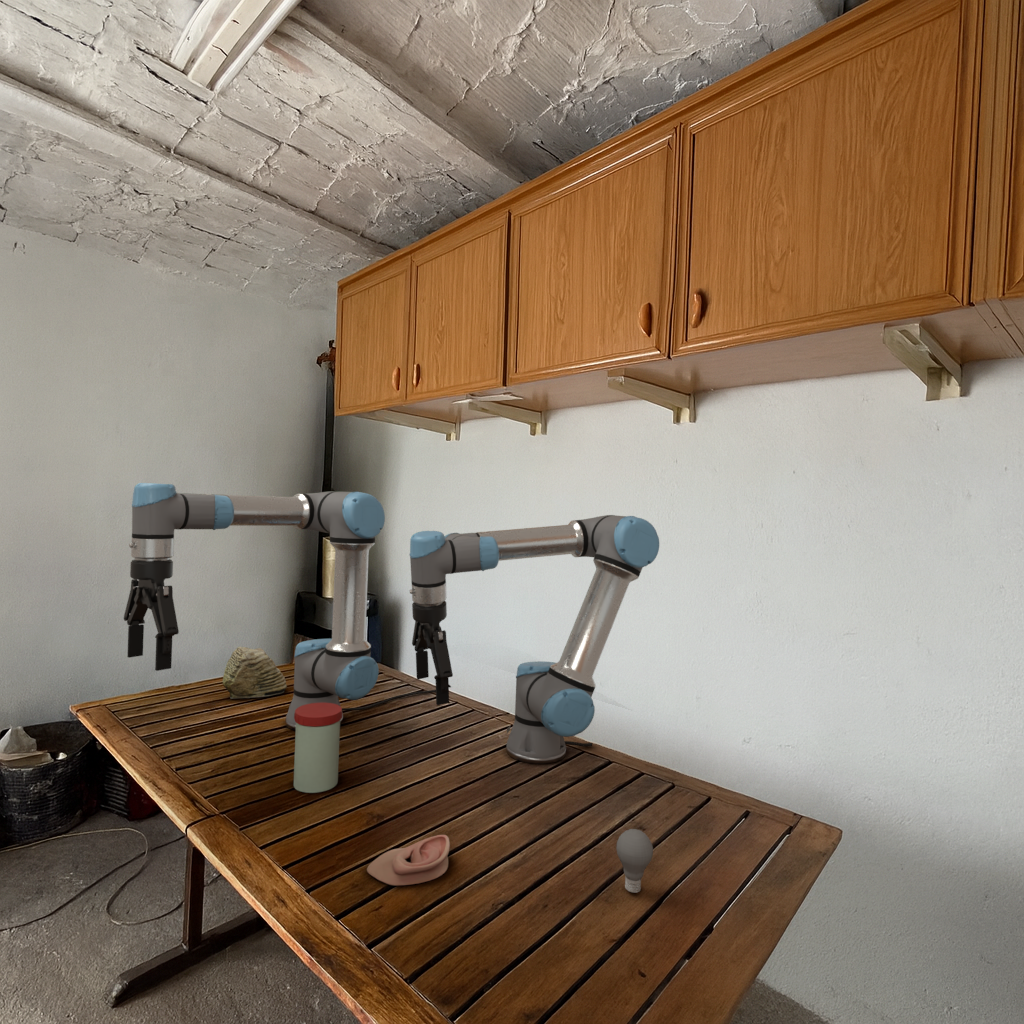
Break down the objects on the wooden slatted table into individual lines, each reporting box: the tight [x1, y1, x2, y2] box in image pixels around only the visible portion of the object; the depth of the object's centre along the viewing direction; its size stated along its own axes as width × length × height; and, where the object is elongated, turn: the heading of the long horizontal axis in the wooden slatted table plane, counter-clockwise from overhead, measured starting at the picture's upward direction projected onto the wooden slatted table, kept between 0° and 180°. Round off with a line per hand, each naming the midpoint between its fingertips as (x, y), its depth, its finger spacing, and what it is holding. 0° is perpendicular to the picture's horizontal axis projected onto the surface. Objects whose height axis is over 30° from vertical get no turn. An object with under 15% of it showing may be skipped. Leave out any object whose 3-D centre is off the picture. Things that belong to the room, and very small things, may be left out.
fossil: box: [222, 646, 288, 699], centre depth 198 cm, size 9×18×15 cm, turn 132°
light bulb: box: [615, 828, 654, 894], centre depth 106 cm, size 6×6×10 cm
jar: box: [293, 721, 341, 794], centre depth 140 cm, size 9×9×16 cm
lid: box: [294, 703, 343, 726], centre depth 140 cm, size 10×10×2 cm
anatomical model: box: [366, 834, 451, 886], centre depth 109 cm, size 13×4×12 cm
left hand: (148, 662), depth 129 cm, fingers open, 13 cm apart
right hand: (432, 690), depth 144 cm, fingers open, 13 cm apart
